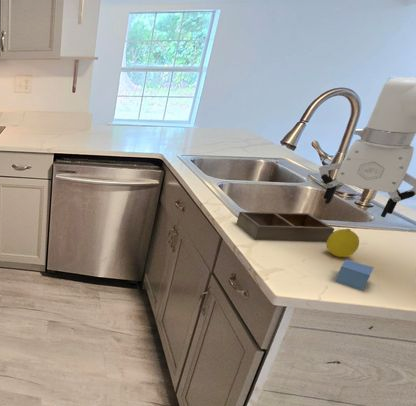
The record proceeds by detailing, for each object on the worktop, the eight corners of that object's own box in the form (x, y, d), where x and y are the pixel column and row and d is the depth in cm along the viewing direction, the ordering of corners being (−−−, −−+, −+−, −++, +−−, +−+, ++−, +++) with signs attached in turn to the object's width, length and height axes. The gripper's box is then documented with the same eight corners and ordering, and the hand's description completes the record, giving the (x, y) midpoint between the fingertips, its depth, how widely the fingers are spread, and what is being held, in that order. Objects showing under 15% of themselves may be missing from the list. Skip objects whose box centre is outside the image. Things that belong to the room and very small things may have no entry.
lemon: (338, 264, 88) (351, 235, 85) (315, 252, 93) (327, 225, 90) (358, 262, 89) (371, 233, 86) (334, 250, 94) (345, 223, 91)
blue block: (365, 284, 81) (373, 267, 79) (361, 292, 78) (370, 275, 77) (338, 275, 84) (345, 259, 82) (333, 283, 82) (341, 266, 80)
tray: (328, 243, 97) (334, 228, 96) (254, 241, 100) (258, 226, 98) (303, 227, 106) (308, 213, 104) (235, 225, 108) (239, 211, 106)
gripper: (330, 133, 83) (303, 201, 90) (447, 148, 71) (406, 226, 78) (337, 128, 87) (311, 193, 95) (449, 142, 75) (410, 216, 82)
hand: (354, 208), depth 86 cm, fingers open, 9 cm apart
